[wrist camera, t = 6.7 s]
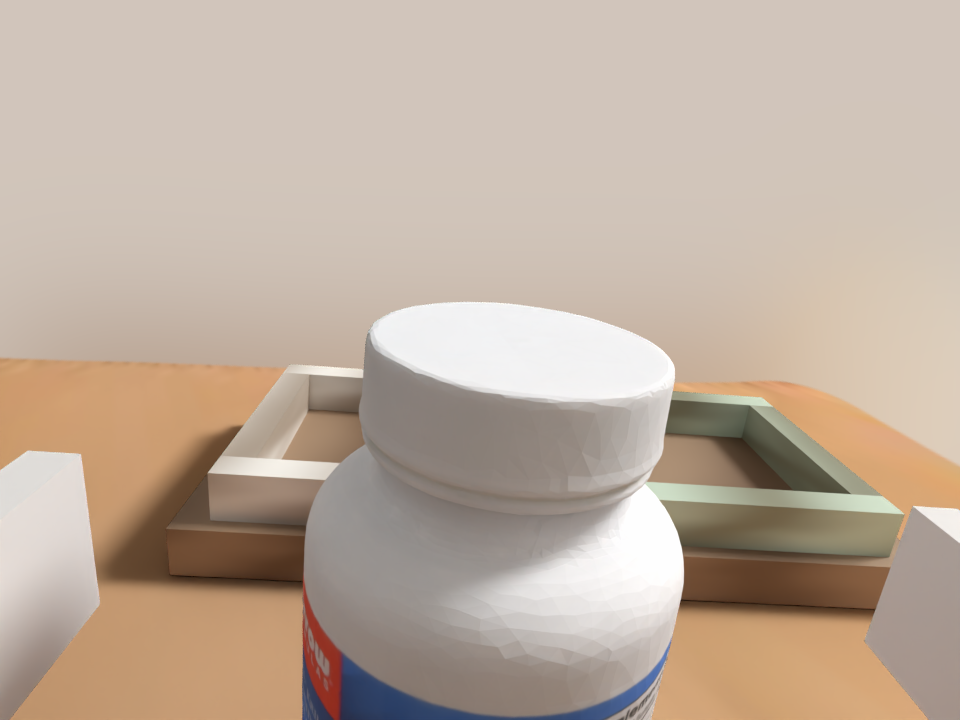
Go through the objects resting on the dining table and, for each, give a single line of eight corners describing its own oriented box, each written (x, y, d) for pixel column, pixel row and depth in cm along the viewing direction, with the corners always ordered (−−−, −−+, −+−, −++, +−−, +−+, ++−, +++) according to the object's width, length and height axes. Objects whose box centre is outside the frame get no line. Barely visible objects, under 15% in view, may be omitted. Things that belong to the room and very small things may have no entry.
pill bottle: (236, 853, 11) (209, 315, 8) (445, 678, 15) (483, 276, 12) (474, 1180, 8) (589, 486, 5) (659, 844, 12) (787, 352, 9)
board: (169, 574, 17) (161, 480, 16) (269, 423, 27) (268, 358, 26) (916, 611, 19) (949, 526, 18) (762, 455, 28) (778, 394, 27)
